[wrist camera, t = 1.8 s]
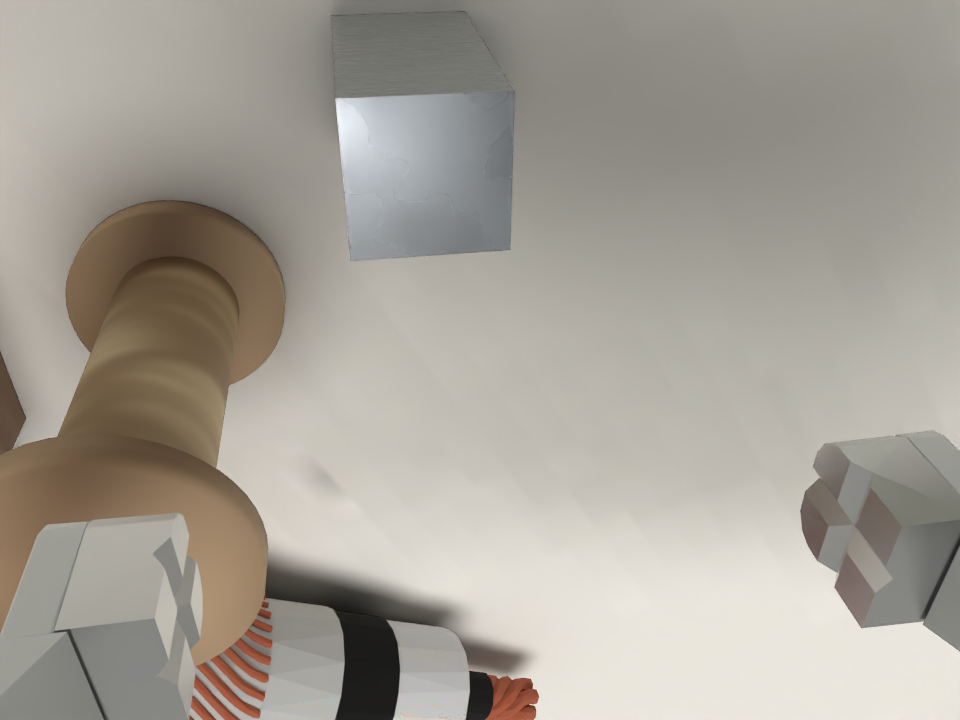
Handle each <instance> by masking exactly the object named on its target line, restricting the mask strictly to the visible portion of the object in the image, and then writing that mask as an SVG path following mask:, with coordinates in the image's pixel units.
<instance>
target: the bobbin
mask: <svg viewBox="0 0 960 720" xmlns="http://www.w3.org/2000/svg"><path fill="white" fill-rule="evenodd" d="M66 306H67V310H68V314H69V318H70V320H71V323H72V325H73V328H74V330H75V332H76V333H77V335H78V337H79V339H80V340H81V341H82V343H83V344H84V345H85V347H86V348H87V349H88V350H89V351H90V352H91V354H90V357H89V359H88V362H87V364H86V367H85V369H84V372H83V374H82V377H81V379H80V382H79V384H78V387H77V389H76V392H75V394H74V397H73V399H72V402H71V404H70V407H69V409H68V412H67V414H66V417H65V419H64V422H63V424H62V427H61V429H60V432H59V434H58V436H57V437H55V438H48V439H44V440H40V441H36V442H32V443H28V444H25V445H23V446H20V447H17V448H15V449H12V450H9V451H7V452H5V453H3V454H1V455H0V634H1V631H2V628H3V626H4V623H5V620H6V618H7V615H8V612H9V610H10V607H11V604H12V602H13V599H14V596H15V594H16V591H17V588H18V585H19V583H20V580H21V577H22V575H23V572H24V569H25V567H26V564H27V561H28V559H29V556H30V553H31V551H32V548H33V545H34V543H35V540H36V537H37V535H38V534H39V533H40V531H41V530H42V529H43V528H44V527H45V526H46V525H48V524H61V523H74V522H87V521H92V520H98V519H110V518H122V517H134V516H146V515H157V514H169V513H180V514H181V515H183V516H184V520H185V523H186V526H187V529H188V532H189V541H188V548H187V554H186V555H188V556H189V557H191V558H192V559H193V560H195V561H196V562H197V566H198V570H199V574H200V579H201V586H202V594H203V619H202V628H201V636H200V640H199V641H198V642H197V643H196V644H195V645H194V647H193V648H192V649H191V650H190V653H191V656H192V660H193V663H194V667H196V666H198V665H200V664H202V663H204V662H206V661H209V660H210V659H212V658H214V657H215V656H217V655H219V654H220V653H222V652H224V651H225V650H226V649H227V648H229V647H230V646H231V645H233V644H234V643H235V642H236V641H237V640H238V639H239V638H240V637H241V636H242V635H243V634H244V633H245V632H246V631H247V630H248V628H249V627H250V626H251V624H252V623H253V622H254V620H255V618H256V616H257V614H258V612H259V610H260V608H261V606H262V602H263V599H264V595H265V586H266V573H267V558H268V543H267V534H266V531H265V528H264V524H263V521H262V519H261V517H260V515H259V513H258V511H257V509H256V507H255V506H254V505H253V503H252V502H251V500H250V499H249V498H248V496H247V495H246V494H245V493H244V492H243V491H242V490H241V489H240V488H239V487H238V486H237V485H236V484H235V483H234V482H233V481H232V480H231V479H229V478H228V477H227V476H226V475H224V474H223V473H222V472H221V471H219V470H218V469H216V466H217V460H218V453H219V446H220V440H221V433H222V427H223V420H224V414H225V407H226V400H227V394H228V387H229V385H230V384H233V383H235V382H237V381H239V380H241V379H243V378H245V377H247V376H248V375H249V374H251V373H252V372H254V371H255V370H256V369H257V368H258V367H260V366H261V365H262V364H263V363H264V362H265V361H266V359H267V358H268V357H269V356H270V355H271V353H272V351H273V350H274V348H275V346H276V345H277V342H278V340H279V338H280V335H281V331H282V327H283V322H284V310H285V288H284V283H283V278H282V275H281V272H280V270H279V267H278V264H277V263H276V261H275V259H274V257H273V255H272V254H271V252H270V251H269V250H268V248H267V247H266V246H265V244H264V243H263V242H262V241H261V240H260V239H259V238H258V237H257V236H256V235H255V234H254V233H253V232H252V231H251V230H249V229H248V228H247V227H246V226H245V225H243V224H242V223H240V222H238V221H237V220H235V219H234V218H232V217H230V216H228V215H226V214H224V213H222V212H220V211H218V210H215V209H212V208H209V207H206V206H203V205H198V204H194V203H189V202H181V201H156V202H147V203H143V204H139V205H135V206H131V207H129V208H126V209H124V210H121V211H119V212H117V213H115V214H113V215H112V216H110V217H108V218H107V219H105V220H104V221H103V222H102V223H100V224H99V225H98V226H97V227H96V228H95V229H94V230H93V231H92V232H91V233H90V234H89V235H88V237H87V238H86V240H85V241H84V243H83V244H82V246H81V248H80V250H79V252H78V254H77V255H76V257H75V259H74V262H73V264H72V266H71V268H70V271H69V274H68V278H67V283H66Z"/></svg>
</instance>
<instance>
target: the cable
mask: <svg viewBox="0 0 960 720" xmlns="http://www.w3.org/2000/svg"><path fill="white" fill-rule="evenodd" d="M195 670H196V674H195V681H194V688H193V695H192V702H191V709H190V716H189V720H534V718H535V717H536V709H535V706H532V705H529V704H536V703H537V702H538V698H539V695H538V692H537V690H535V689H532V688H533V683H532V681H531V679H528V678H519V679H514V680H511V679H510V678H509V677H508V676H506V677H502V678H500V679H498V678H497V677H496V676H493V675H489V676H488V675H487V674H486V673H482V672H474V671H469V668H468V662H467V656H466V652H465V650H464V648H463V646H462V644H461V642H460V640H459V638H458V636H457V635H456V634H455V633H453V632H452V631H450V630H449V629H447V628H444V627H437V626H429V625H422V624H414V623H406V622H399V621H391V620H386V619H384V618H380V617H376V616H370V615H363V614H356V613H349V612H342V611H335V610H333V609H332V608H329V607H327V606H322V605H314V604H307V603H300V602H292V601H285V600H278V599H270V598H266V596H265V595H264V599H263V602H262V606H261V608H260V610H259V612H258V614H257V616H256V618H255V620H254V622H253V623H252V624H251V626H250V627H249V628H248V630H247V631H246V632H245V633H244V634H243V635H242V636H241V637H240V638H239V639H238V640H237V641H236V642H235V643H234V644H233V645H231V646H230V647H229V648H227V649H226V650H225V651H224V652H222V653H220V654H219V655H217V656H215V657H214V658H212V659H210V660H209V661H206V662H204V663H202V664H200V665H198V666H196V667H195Z"/></svg>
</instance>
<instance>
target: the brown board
mask: <svg viewBox="0 0 960 720" xmlns="http://www.w3.org/2000/svg"><path fill="white" fill-rule="evenodd" d="M25 420H26V418H25V416H24V413H23V411H22V408H21V405H20V403H19V400H18V398H17V395H16V393H15V390H14V387H13V385H12V382H11V380H10V377H9V374H8V372H7V369H6V367H5V364H4V362H3V359H2V356H1V354H0V455H1V454H3V453H5V452H7V451H9V450H12V448H13V446H14V444H15V442H16V439H17V437H18V435H19V433H20V431H21V429H22V426H23V424H24V422H25Z"/></svg>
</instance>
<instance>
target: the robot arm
mask: <svg viewBox="0 0 960 720" xmlns="http://www.w3.org/2000/svg"><path fill="white" fill-rule="evenodd" d="M813 468H814V469H815V471H816V472H817V474H818V476H819V477H820V478H819V479H818V480H817V481H816V482H815V483H814V484H813V485H812V486H811V487H810V488H809V489H808V490H807V491H805V494H804V498H803V502H802V506H801V510H800V512H801V522H802V531H803V534H804V536H805V539H806V542H807V544H808V547H809V548H810V550H811V551H812V553H813V555H814V556H815V558H816V559H817V561H819V562H820V563H822V564H824V565H825V566H827V567H828V568H830V569H832V570H833V571H835V572H837V575H836V581H835V589H836V590H837V592H838V593H839V595H840V597H841V598H842V600H843V601H844V603H845V604H846V606H847V607H848V609H849V610H850V612H851V613H852V615H853V616H854V618H855V619H856V621H857V622H858V624H859V625H860V627H861V628H867V627H876V626H885V625H894V624H904V623H913V622H922V621H924V623H923V625H924V626H926V627H927V628H928V629H930V630H931V631H932V632H934V633H935V634H937V635H938V636H939V637H941V638H942V639H943V640H945V641H946V642H948V643H949V644H950V645H952V646H953V647H955V648H956V649H957V650H959V651H960V451H959V450H958V449H957V448H956V447H955V446H954V445H953V444H952V443H951V442H950V441H949V440H948V439H947V438H946V437H945V436H944V435H942V434H940V433H937V432H935V431H933V430H932V431H924V432H916V433H907V434H899V435H896V436H885V437H876V438H868V439H859V440H850V441H842V442H833V443H825V444H824V445H823V446H822V448H821V449H820V450H819V451H818V452H817V455H816V458H815V461H814V464H813ZM188 541H189V532H188V529H187V526H186V523H185V520H184V516H183V515H181V514H180V513H169V514H157V515H146V516H134V517H122V518H110V519H98V520H92V521H87V522H74V523H61V524H48V525H46V526H45V527H44V528H43V529H42V530H41V531H40V533H39V534H38V535H37V537H36V540H35V543H34V545H33V548H32V551H31V553H30V556H29V559H28V561H27V564H26V567H25V569H24V572H23V575H22V577H21V580H20V583H19V585H18V588H17V591H16V594H15V596H14V599H13V602H12V604H11V607H10V610H9V612H8V615H7V618H6V620H5V623H4V626H3V628H2V631H1V634H0V720H189V716H190V709H191V702H192V695H193V688H194V681H195V674H196V670H195V667H194V663H193V660H192V656H191V653H190V650H191V649H192V648H193V647H194V645H195V644H196V643H197V642H198V641H199V640H200V636H201V628H202V619H203V594H202V586H201V579H200V574H199V570H198V566H197V562H196V561H195V560H193V559H192V558H191V557H189V556H188V555H186V554H187V548H188Z"/></svg>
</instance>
